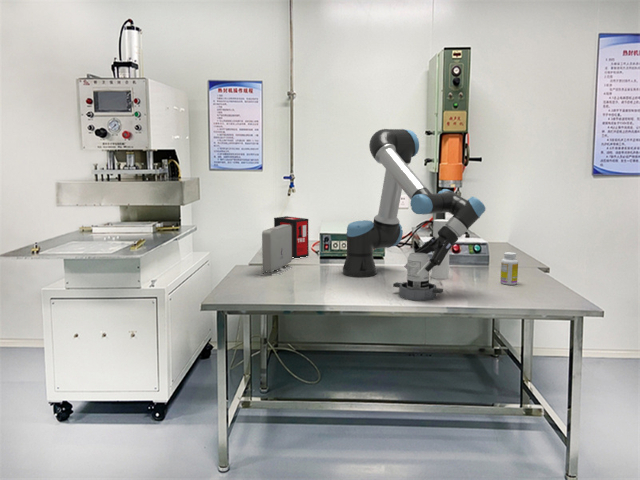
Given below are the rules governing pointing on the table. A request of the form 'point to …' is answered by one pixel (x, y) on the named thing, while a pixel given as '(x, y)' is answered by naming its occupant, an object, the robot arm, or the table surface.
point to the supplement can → (413, 267)
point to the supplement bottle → (509, 269)
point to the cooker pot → (417, 292)
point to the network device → (277, 248)
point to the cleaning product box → (296, 234)
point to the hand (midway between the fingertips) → (412, 272)
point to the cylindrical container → (443, 268)
